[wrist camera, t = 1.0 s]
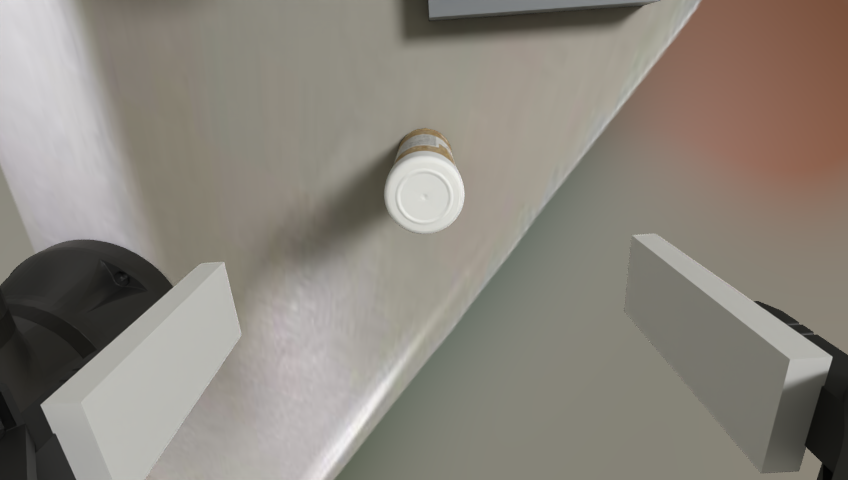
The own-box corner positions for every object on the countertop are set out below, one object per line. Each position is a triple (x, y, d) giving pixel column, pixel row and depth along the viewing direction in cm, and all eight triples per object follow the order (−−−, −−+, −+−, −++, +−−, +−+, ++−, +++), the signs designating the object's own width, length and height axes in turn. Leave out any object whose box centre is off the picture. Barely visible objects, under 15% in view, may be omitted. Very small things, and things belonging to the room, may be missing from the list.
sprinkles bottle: (453, 179, 38) (468, 232, 26) (400, 184, 39) (388, 240, 26) (449, 123, 37) (462, 152, 24) (393, 129, 37) (377, 161, 24)
